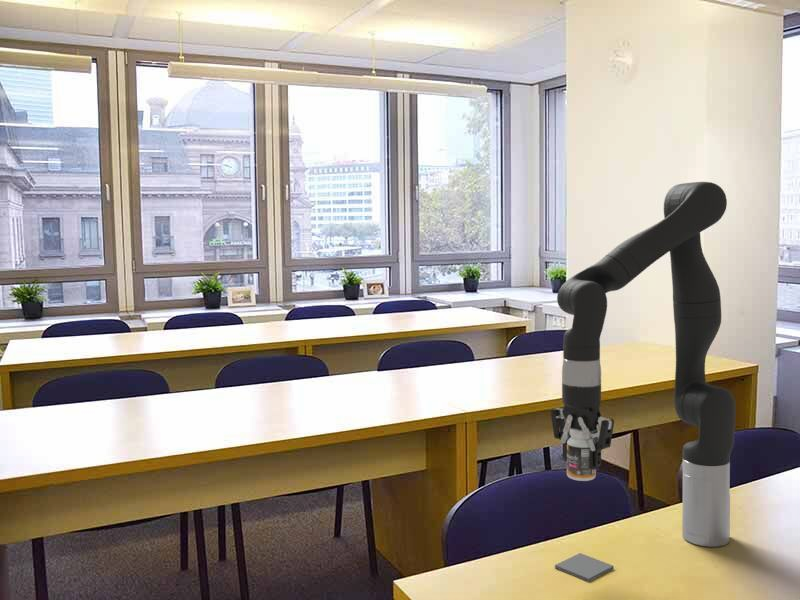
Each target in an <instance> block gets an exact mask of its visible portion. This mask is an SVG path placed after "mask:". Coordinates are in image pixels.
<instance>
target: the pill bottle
mask: <svg viewBox="0 0 800 600" xmlns="http://www.w3.org/2000/svg"><path fill="white" fill-rule="evenodd" d="M569 433H570V436H571V438H569V439H568V441H567V462H566V476H567V477H568V478H569V479H571V480H574V481H579V482H581V481H582V482H588V481H592V480H594V479H595V478H596V475H597V469H590V450H591V449H590V446H589V443H588V441H587V440H586V439H585V437H584V434H583V431H582V430H578V429H574V428H570V431H569ZM593 433H594V430H593V431H591V432H590V434H593Z"/></svg>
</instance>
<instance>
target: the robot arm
mask: <svg viewBox="0 0 800 600" xmlns="http://www.w3.org/2000/svg"><path fill="white" fill-rule="evenodd" d="M727 202H728V200H727V195H726V192H725V191H724V189H723V188H722V187H721V186H720V185H718V184H716V183H715V182H709V181H695V182H694V181H693V182H684V183H683V182H682V183H678V184H675V185H674V186H672V187H671V188H669V190H668V191H667V193H666V195H665V198H664V201H663V216H664V218H663V219H662V220H660V221H659V222H657V223H655V224H654V225H652V226H650V227H647V228H646V229H644V230H642V231H640V232H638V233H636V234H634V235H633V236H631V237H628V238H627V239H626V240H624V241H623V242H621V243H619V244H618V245H617V246H616V247H614V248H613V249H612V250H611V251H609V252H608V253H607V254H605V256H603V257H602V258H601V259H600V260H599V261H597V262H596V263H594V264H592V265H590V266H588V267H586V268H585V269H583V270H581V271H579V272H578V273H576V274H574V275H573V276H571V277H570V278H568V279H567V280H566V281H565V282H564V283H563V284H562V285H561V287H560V288H559V290H558V292H557V296H556V299H557V301H556V302H557V304H558V306H559V308H560V309H561V311H563V312H564V313H566V314H568V315H571V316H572V315H573V318H572V326H571V328H568V329H567V330H566V331H565V332H564V334H563V346H562V348H563V349H562V350H563V352H562V353H563V356H562V357H563V359H562V367H561V368H562V369H561V402H562V404H563V407H557V408H552V409H551V410H550V415H551V424H552V430H553V437H554V438H555V439H558V440H560V442H561V444H562V458H563V461H564V462H565V463H567V441H568V439H569V438H571V436H570V433H569V431H570V428H574V429H578V430H582V431H583V434H584V437H585V439H586V440H587V441H588V443H589V446H590V449H591V450H590V469H596V470H597V469H599V468H600V466H601V465H602V450H605V449H608V448H611V446H612V440H613V439H612V438H613V431H614V427H615V426H614V425H615V420H614V419H613V418H606V417H603V416H602V414H601V411H600V408H601V404H602V366H601V334H602V331H603V329H604V324H605V319H606V316H607V311H608V298H607V293H609V292H615V291H619V290H620V289H623V288H624V287H626V286H627V285H628V284H629V283H630V282H632V281H633V280H635V278H636V277H638V276H639V275H641V273H643V272H644V271H645V270H647V269H648V268H649V267H650V266H651V265H653V264H654V263H655V262H656V261H658V260H659V259H661V258H662V257H664V256H665V255H667V254H668V253H669V256H670V257H669V258H670V267H671V268H670V269H671V281H672V303H673V306H672V307H673V310H672V311H673V322H674V332H675V333H674V334H675V335H674V336H675V338H674V339H675V373H674V377H675V378H674V389H673V390H674V391H673V393H674V396H673V398H674V400H673V401H674V409H675V412H676V415H677V417H678V418H679V420H680V421H682V422H684V423H685V424H688V425H691V426H695V427H697V428H699V430H698V439H697V440H691V441H689V442H686V443H684V445H683V447H682V520H681V522H682V525H681V526H682V527H681V529H682V538H683V539H684V540H685V541H687V542H689V543H691V544H694V545H696V546H701V547H707V548H709V547H712V548H715V547H716V548H717V547H723V546H725V545H728V544H729V542H730V535H731V534H730V533H731V531H730V530H731V494H730V491H731V489H730V484H731V483H730V479H731V477H730V476H731V475H730V470H731V468H730V467H731V459H730V458H731V453H732V451H733V448H734V443H735V431H736V416H737V414H736V412H737V409H736V408H737V407H736V400H735V397H734V395H733V394H732V393H731V391H730V390H728V389H727V388H724V387H721V386H717V385H713V384H708V383H707V382H706V381H707V379H706V369H705V368H706V359H707V358H706V357H707V354H708V352H709V350H710V347H711V346H712V344H713V342H714V341H715V339H716V337H717V335H718V332H719V330H720V328H721V324H722V301H721V292H720V285H718V282H717V280H716V277H715V275H714V274H713V271H712V270H711V268H710V265H709V264H708V262H707V259H706V258H705V254H704V253H703V247H702V242H701V239H702V238H701V232H703V231H705V230H706V229H709V228H710V227H713V225H714V224H716V223H718V222H719V221H720V220H721V219H722V217H723V216H724V214H725V212H726V210H727V206H728V205H727V204H728V203H727ZM598 424H599V425H598ZM593 430H594V433H593V434H590V432H591V431H593Z"/></svg>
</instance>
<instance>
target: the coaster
mask: <svg viewBox="0 0 800 600" xmlns="http://www.w3.org/2000/svg"><path fill="white" fill-rule="evenodd" d="M614 567H615V566H614V565H613V564H610V563H607V562H605V561H603V560H599V559H597V558H594V557H591V556H589V555H587V554H584V553H581V552H579V553H577V554H575V555H573V556H571V557H569V558H566V559H565V560H563V561H560V562H559V563H556V564H554V568H555V569H557V570H559V571H561V572H563V573H566V574H569V575H572V576H574V577H576V578H579V579H582V580H584V581H586V582H591V581H593V580H595V579H596V578H598V577H600V576H602V575H604V574H606V573H609V572H610V571H612V570H614V569H615V568H614Z"/></svg>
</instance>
